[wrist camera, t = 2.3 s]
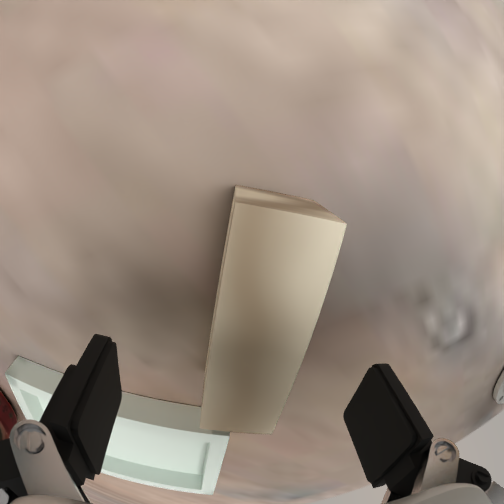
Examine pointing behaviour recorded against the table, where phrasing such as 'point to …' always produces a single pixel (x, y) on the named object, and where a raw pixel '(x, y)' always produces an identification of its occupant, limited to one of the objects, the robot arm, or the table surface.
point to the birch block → (266, 306)
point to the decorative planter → (6, 418)
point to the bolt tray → (138, 434)
